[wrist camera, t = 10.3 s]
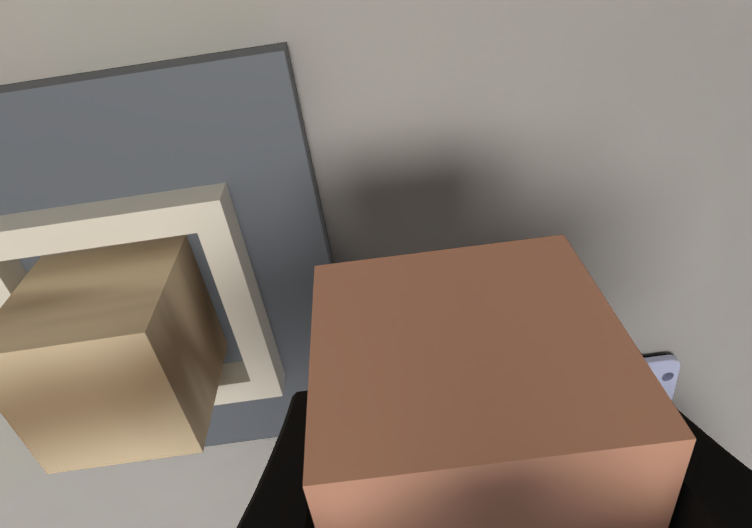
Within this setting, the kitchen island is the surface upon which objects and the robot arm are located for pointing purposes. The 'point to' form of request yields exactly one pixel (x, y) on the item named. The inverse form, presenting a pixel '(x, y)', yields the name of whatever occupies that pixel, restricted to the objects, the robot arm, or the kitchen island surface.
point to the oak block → (111, 355)
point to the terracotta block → (483, 397)
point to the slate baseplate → (181, 200)
